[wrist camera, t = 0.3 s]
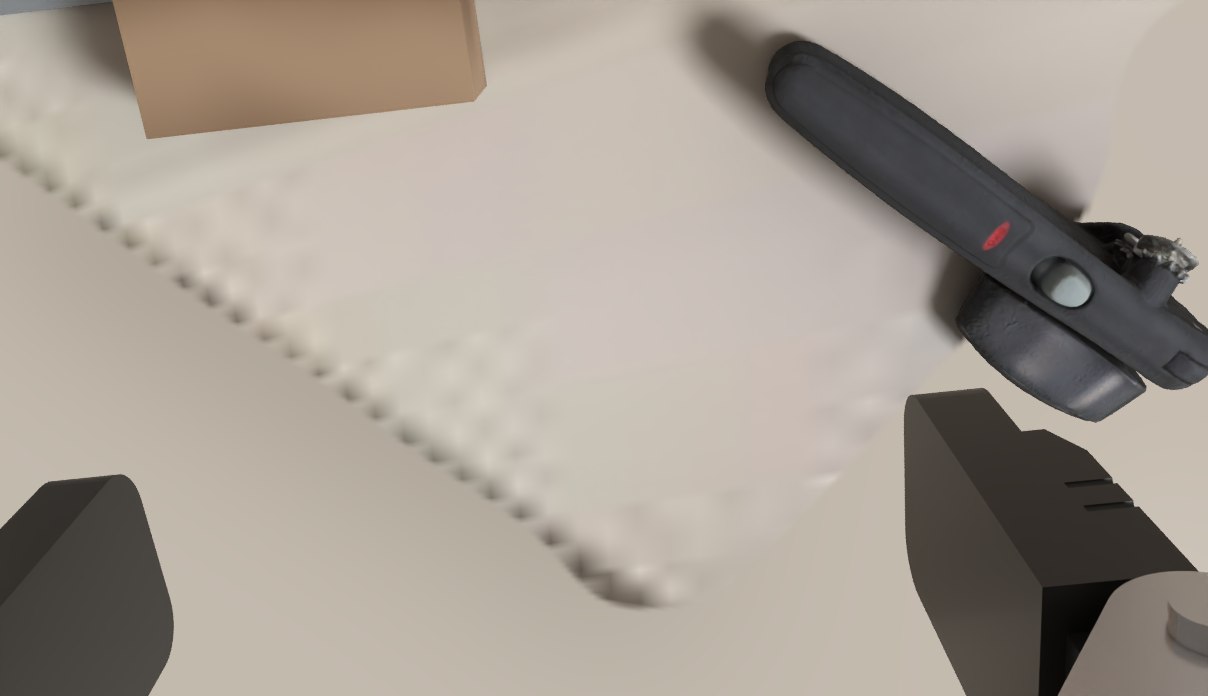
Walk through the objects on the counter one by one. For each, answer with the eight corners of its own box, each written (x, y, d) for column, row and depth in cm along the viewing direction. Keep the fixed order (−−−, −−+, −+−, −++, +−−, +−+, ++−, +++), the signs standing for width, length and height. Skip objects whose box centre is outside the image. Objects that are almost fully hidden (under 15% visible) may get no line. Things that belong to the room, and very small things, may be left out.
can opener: (1207, 281, 40) (1300, 332, 35) (1066, 423, 42) (1135, 492, 37) (837, -42, 36) (878, -40, 31) (700, 130, 38) (717, 159, 33)
